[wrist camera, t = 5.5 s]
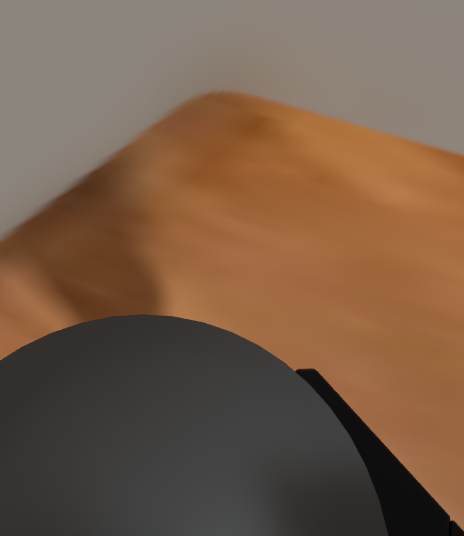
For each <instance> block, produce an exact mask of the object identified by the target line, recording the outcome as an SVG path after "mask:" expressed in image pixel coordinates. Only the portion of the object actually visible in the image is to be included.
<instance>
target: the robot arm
mask: <svg viewBox="0 0 464 536" xmlns="http://www.w3.org/2000/svg"><path fill="white" fill-rule="evenodd" d="M295 372H296V373H297V374H298V375H299V376H300V377H302V378H303V379H304V380H305V381H306V382H307V383H309V385H310V386H311V387H312V388H313V389H314V390H315V391H316V392H317V394H318V395H319V396H320V397H321V398H322V399H323V400H324V401H325V402H326V404H327V405H328V406H329V407H330V408H331V410H332V411H333V412H334V414H335V415H336V417H337V418H338V420H339V421H340V423H341V424H342V425H343V427H344V428H345V430H346V431H347V433H348V434H349V435H350V437H351V439H352V441H353V443H354V445H355V447H356V449H357V450H358V452H359V454H360V456H361V458H362V460H363V462H364V464H365V466H366V468H367V470H368V473H369V476H370V478H371V481H372V483H373V486H374V488H375V491H376V494H377V496H378V499H379V502H380V505H381V509H382V513H383V517H384V521H385V524H386V528H387V532H388V536H464V531H463V530H462V529H461V528H460V527H459V526H458V524H457V523H456V522H455V521H450V516H449V515H448V514H447V513H446V512H445V510H444V509H443V508H442V507H441V506H440V505H439V504H438V503H437V502H436V501H435V500H434V498H433V497H432V496H431V495H430V494H429V493H428V492H427V491H426V490H425V489H424V487H423V486H422V485H421V484H420V483H419V482H418V481H417V480H416V479H415V478H414V477H413V475H412V474H411V473H410V472H409V471H408V470H407V469H406V468H405V467H404V466H403V464H402V463H401V462H400V461H399V460H398V459H397V458H396V457H395V456H394V455H393V453H392V452H391V451H390V450H389V449H388V448H387V447H386V446H385V445H384V444H383V443H382V441H381V440H380V439H379V438H378V437H377V436H376V435H375V434H374V433H373V432H372V430H371V429H370V428H369V427H368V426H367V425H366V424H365V423H364V422H363V421H362V420H361V418H360V417H359V416H358V415H357V414H356V413H355V412H354V411H353V410H352V409H351V407H350V406H349V405H348V404H347V403H346V402H345V401H344V400H343V399H342V398H341V397H340V395H339V394H338V393H337V392H336V391H335V390H334V389H333V388H332V387H331V386H330V384H329V383H328V382H327V381H326V380H325V379H324V378H323V377H322V376H321V375H320V374H319V372H318V371H317V370H315V369H297V370H296V371H295Z"/></svg>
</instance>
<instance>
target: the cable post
mask: <svg viewBox="0 0 464 536" xmlns="http://www.w3.org/2000/svg"><path fill="white" fill-rule="evenodd" d="M0 536H388V532H387V528H386V524H385V521H384V517H383V513H382V509H381V505H380V502H379V499H378V496H377V494H376V491H375V488H374V486H373V483H372V481H371V478H370V476H369V473H368V470H367V468H366V466H365V464H364V462H363V460H362V458H361V456H360V454H359V452H358V450H357V449H356V447H355V445H354V443H353V441H352V439H351V437H350V435H349V434H348V433H347V431H346V430H345V428H344V427H343V425H342V424H341V423H340V421H339V420H338V418H337V417H336V415H335V414H334V412H333V411H332V410H331V408H330V407H329V406H328V405H327V404H326V402H325V401H324V400H323V399H322V398H321V397H320V396H319V395H318V394H317V392H316V391H315V390H314V389H313V388H312V387H311V386H310V385H309V383H307V382H306V381H305V380H304V379H303V378H302V377H300V376H299V375H298V374H297V373H296V372H295V371H294V370H292V369H291V368H290V367H289V366H288V365H287V364H286V363H284V362H283V361H281V360H280V359H278V358H277V357H275V356H274V355H272V354H271V353H269V352H268V351H266V350H265V349H263V348H262V347H260V346H259V345H257V344H255V343H253V342H251V341H249V340H247V339H245V338H243V337H240V336H238V335H236V334H234V333H232V332H230V331H227V330H224V329H221V328H218V327H215V326H212V325H209V324H206V323H203V322H198V321H193V320H188V319H183V318H178V317H172V316H156V315H132V316H117V317H109V318H104V319H99V320H94V321H89V322H84V323H80V324H77V325H74V326H71V327H68V328H65V329H62V330H59V331H56V332H53V333H50V334H48V335H46V336H44V337H42V338H40V339H38V340H36V341H34V342H31V343H29V344H27V345H25V346H23V347H21V348H20V349H18V350H16V351H15V352H13V353H12V354H10V355H8V356H7V357H5V358H4V359H2V360H0Z"/></svg>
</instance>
